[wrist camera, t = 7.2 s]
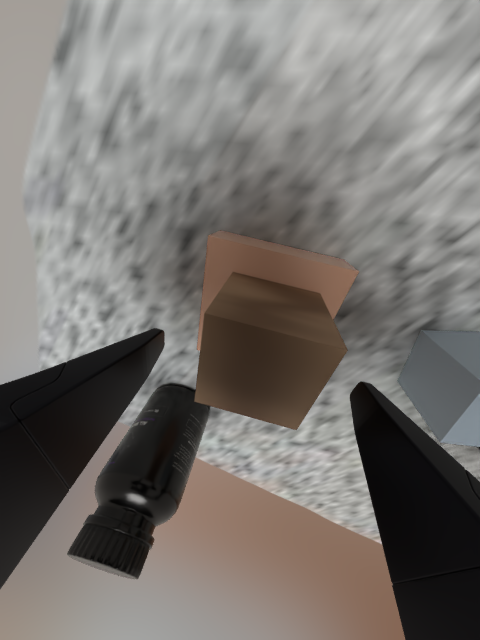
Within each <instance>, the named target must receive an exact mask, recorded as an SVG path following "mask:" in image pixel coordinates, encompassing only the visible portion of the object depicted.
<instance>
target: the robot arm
mask: <svg viewBox="0 0 480 640" xmlns="http://www.w3.org/2000/svg"><path fill="white" fill-rule="evenodd" d="M164 344H165V343H164V331H163V330H160V329H157V328H154V329H151V330H148V331H146V332H143V333H141V334H138V335H135V336H133V337H130V338H127V339H125V340H122V341H120V342H117V343H114V344H112V345H109V346H106V347H104V348H101V349H99V350H96V351H93V352H91V353H88V354H85V355H83V356H80V357H78V358H75V359H72V360H70V361H67V363H66V362H64V363H62V364H59V365H56V366H54V367H51V368H48V369H46V370H43V371H40V372H37V373H35V374H32V375H29V376H26V377H23V378H20V379H17V380H14V381H11V382H8V383H5V384H2V385H0V589H1V587H2V586H3V585H4V583H5V582H6V580H7V579H8V577H9V576H10V575H11V573H12V572H13V570H14V569H15V567H16V566H17V565H18V563H19V562H20V560H21V559H22V557H23V556H24V555H25V553H26V552H27V550H28V549H29V547H30V546H31V545H32V543H33V542H34V540H35V539H36V537H37V536H38V534H39V533H40V531H41V530H42V529H43V527H44V526H45V524H46V523H47V521H48V520H49V519H50V517H51V516H52V514H53V513H54V511H55V510H56V509H57V507H58V506H59V504H60V503H61V501H62V500H63V498H64V497H65V496H66V494H67V493H68V491H69V489H70V488H71V487H72V485H73V484H74V483H75V481H76V479H77V478H78V477H79V475H80V474H81V473H82V471H83V470H84V468H85V467H86V465H87V464H88V462H89V461H90V459H91V458H92V457H93V455H94V454H95V452H96V451H97V450H98V448H99V446H100V445H101V444H102V442H103V441H104V439H105V438H106V436H107V435H108V434H109V432H110V431H111V429H112V428H113V426H114V425H115V424H116V422H117V421H118V419H119V418H120V417H121V415H122V414H123V412H124V411H125V409H126V408H127V407H128V405H129V404H130V402H131V401H132V399H133V398H134V396H135V395H136V394H137V392H138V391H139V389H140V388H141V386H142V385H143V384H144V382H145V381H146V379H147V378H148V376H149V374H150V373H151V371H152V369H153V367H154V365H155V363H156V361H157V360H158V358H159V356H160V354H161V352H162V350H163V348H164ZM350 402H351V410H352V417H353V424H354V430H355V435H356V440H357V444H358V448H359V452H360V456H361V460H362V464H363V468H364V472H365V476H366V480H367V484H368V488H369V492H370V497H371V501H372V505H373V509H374V513H375V517H376V521H377V525H378V529H379V533H380V537H381V541H382V545H383V549H384V553H385V557H386V562H387V566H388V570H389V574H390V578H391V582H392V583H393V585H392V587H393V591H394V595H395V599H396V603H397V607H398V611H399V615H400V619H401V623H402V627H403V631H404V635H405V640H480V482H479V481H478V480H477V479H476V478H475V477H474V476H473V475H472V474H471V473H470V472H468V471H467V470H465V468H464V467H463V466H462V465H461V464H459V463H458V462H457V461H456V460H455V459H454V458H453V457H452V456H451V455H449V454H448V453H447V452H446V451H445V450H444V449H443V448H442V447H441V446H439V445H438V444H437V443H436V442H435V441H434V440H433V439H432V438H431V437H430V436H428V435H427V434H426V433H425V432H424V431H423V430H422V429H421V428H420V427H418V426H417V425H416V424H415V423H414V422H413V421H412V420H411V419H410V418H408V417H407V416H406V415H405V414H404V413H403V412H402V411H401V410H400V409H398V408H397V407H396V406H395V405H394V404H393V403H392V402H391V401H390V400H388V399H387V398H386V397H385V396H384V395H383V394H382V393H381V392H380V391H379V390H377V389H376V388H375V387H374V386H373V385H372V384H370V383H366V382H359V383H358V384H357V386H356V387H355V388H354V389H353V391H352V392H351V394H350ZM477 448H478V449H479V450H480V447H477Z"/></svg>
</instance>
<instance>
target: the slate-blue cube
mask: <svg viewBox="0 0 480 640" xmlns="http://www.w3.org/2000/svg"><path fill="white" fill-rule="evenodd" d="M397 381H398V383H399V384H400V386H401V387H402V388H403V390H404V391H405V393H406V394H407V396H408V397H409V399H410V400H411V401H412V403H413V404H414V406H415V407H416V409H417V410H418V412H419V413H420V414H421V416H422V417H423V419H424V420H425V422H426V423H427V425H428V426H429V427H430V429H431V430H432V432H433V433H434V435H435V436H436V438H437V439H438V440H439V442H440V443H449V444H458V445H467V446H476V447H480V332H473V331H435V330H421V331H420V334H419V336H418V338H417V340H416V342H415V344H414V346H413V349H412V351H411V353H410V355H409V357H408V359H407V361H406V363H405V366H404V368H403V370H402V372H401V374H400V376H399V378H398V380H397Z"/></svg>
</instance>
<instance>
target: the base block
mask: <svg viewBox="0 0 480 640" xmlns="http://www.w3.org/2000/svg"><path fill="white" fill-rule="evenodd" d="M232 272H236V273H240V274H244V275H248V276H252V277H256V278H260V279H264V280H268V281H272V282H277V283H281V284H285V285H289V286H293V287H297V288H301V289H305V290H309V291H313V292H317V293H320V294H321V296H322V298H323V300H324V302H325V304H326V306H327V308H328V311H329V313H330V315H331V317H332V319H333V320H334V318H335V316H336V314H337V312H338V310H339V308H340V306H341V305H342V303H343V301H344V299H345V297H346V295H347V293H348V291H349V290H350V288H351V286H352V284H353V282H354V280H355V278H356V276H357V275H358V273H359V271H358V270H356V269H355V268H354V267H353V266H351V265H350V264H349V263H348V262H346V261H345V260H344V259H339V258H335V257H331V256H327V255H323V254H318V253H314V252H310V251H306V250H301V249H297V248H293V247H289V246H285V245H280V244H276V243H272V242H268V241H264V240H259V239H255V238H251V237H247V236H242V235H238V234H234V233H230V232H226V231H221V230H220V231H217V232H215V233H213V234H211V235H208V242H207V252H206V262H205V272H204V282H203V292H202V302H201V313H200V323H199V333H198V343H197V350H200V347H201V338H202V329H203V320H204V313H205V311H206V310H207V308H208V307H209V306H210V304H211V303H212V301H213V300H214V298H215V297H216V295H217V294H218V293H219V291H220V290H221V288H222V287H223V285H224V284H225V282H226V281H227V280H228V278H229V277H230V275H231V274H232Z"/></svg>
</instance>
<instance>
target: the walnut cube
mask: <svg viewBox="0 0 480 640" xmlns="http://www.w3.org/2000/svg"><path fill="white" fill-rule="evenodd" d="M347 351H348V350H347V348H346V346H345V343H344V341H343V339H342V337H341V335H340V333H339V331H338V329H337V327H336V325H335V323H334V321H333V319H332V317H331V315H330V313H329V311H328V308H327V306H326V304H325V302H324V300H323V298H322V296H321V294H320V293H317V292H313V291H309V290H305V289H301V288H297V287H293V286H289V285H285V284H281V283H277V282H272V281H268V280H264V279H260V278H256V277H252V276H248V275H244V274H240V273H236V272H232V274H231V275H230V277H229V278H228V280H227V281H226V282H225V284H224V285H223V287H222V288H221V290H220V291H219V293H218V294H217V295H216V297H215V298H214V300H213V301H212V303H211V304H210V306H209V307H208V308H207V310H206V311H205V313H204V320H203V329H202V338H201V347H200V356H199V365H198V374H197V383H196V392H195V401H194V402H198V403H201V404H205V405H209V406H212V407H216V408H219V409H223V410H226V411H230V412H234V413H237V414H241V415H244V416H248V417H251V418H255V419H259V420H262V421H266V422H269V423H273V424H276V425H280V426H284V427H287V428H291V429H294V430H297V428H298V427H299V425H300V424H301V422H302V421H303V419H304V418H305V416H306V414H307V413H308V411H309V410H310V408H311V407H312V405H313V404H314V402H315V400H316V399H317V397H318V396H319V394H320V393H321V391H322V390H323V388H324V386H325V385H326V383H327V382H328V380H329V379H330V377H331V375H332V374H333V372H334V371H335V369H336V368H337V366H338V365H339V363H340V361H341V360H342V358H343V357H344V355H345V354H346V352H347Z"/></svg>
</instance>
